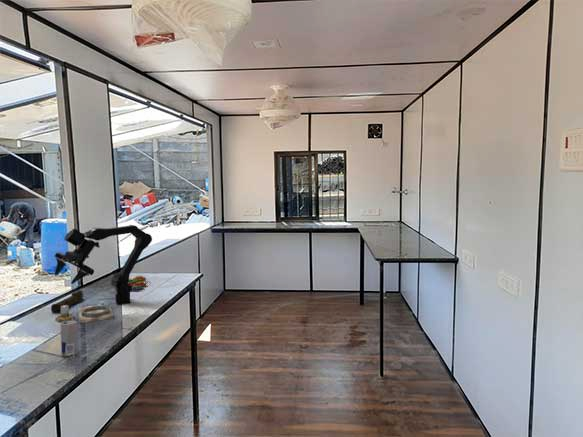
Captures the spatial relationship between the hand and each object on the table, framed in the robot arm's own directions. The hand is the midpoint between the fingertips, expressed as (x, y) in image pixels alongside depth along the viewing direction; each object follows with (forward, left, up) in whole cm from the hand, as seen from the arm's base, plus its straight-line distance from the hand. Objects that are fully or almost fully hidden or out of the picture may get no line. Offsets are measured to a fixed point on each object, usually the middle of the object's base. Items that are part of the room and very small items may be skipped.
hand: (63, 279), depth 182 cm
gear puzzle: (-38, -41, -18) cm, 59 cm away
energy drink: (-2, +48, -17) cm, 51 cm away
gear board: (-13, +5, -17) cm, 22 cm away
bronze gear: (0, +6, -17) cm, 18 cm away
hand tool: (-2, -15, -18) cm, 23 cm away
